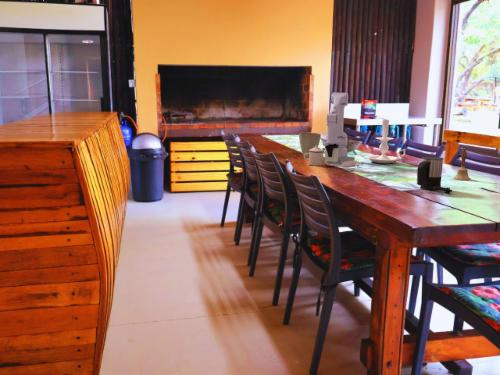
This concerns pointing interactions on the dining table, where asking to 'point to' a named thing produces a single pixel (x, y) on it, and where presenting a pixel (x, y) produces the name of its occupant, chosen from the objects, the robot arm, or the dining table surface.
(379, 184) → the dining table surface
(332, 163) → the dish rack
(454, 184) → the dining table surface
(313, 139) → the plant pot
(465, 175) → the hand bell
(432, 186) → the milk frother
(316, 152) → the teacup with lid
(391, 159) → the candlestick
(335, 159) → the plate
